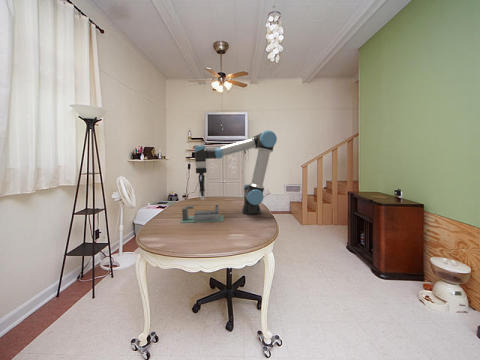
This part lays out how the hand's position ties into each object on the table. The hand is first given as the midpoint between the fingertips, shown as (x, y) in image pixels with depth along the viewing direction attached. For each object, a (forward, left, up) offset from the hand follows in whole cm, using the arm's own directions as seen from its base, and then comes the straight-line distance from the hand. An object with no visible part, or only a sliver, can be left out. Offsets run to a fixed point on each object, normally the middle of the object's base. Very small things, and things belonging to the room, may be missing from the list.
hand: (202, 199), depth 151 cm
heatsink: (-2, 0, -15) cm, 15 cm away
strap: (-2, 0, -8) cm, 8 cm away
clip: (+11, 0, -14) cm, 18 cm away
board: (+1, 0, -15) cm, 15 cm away
